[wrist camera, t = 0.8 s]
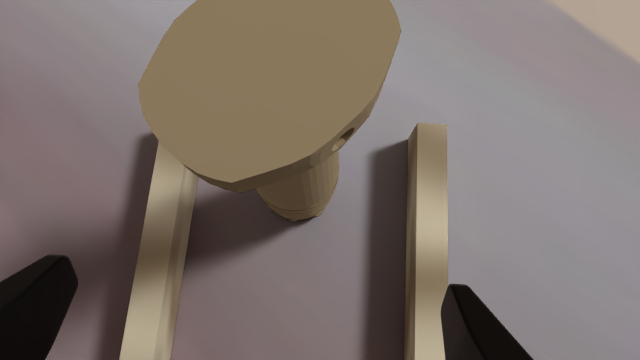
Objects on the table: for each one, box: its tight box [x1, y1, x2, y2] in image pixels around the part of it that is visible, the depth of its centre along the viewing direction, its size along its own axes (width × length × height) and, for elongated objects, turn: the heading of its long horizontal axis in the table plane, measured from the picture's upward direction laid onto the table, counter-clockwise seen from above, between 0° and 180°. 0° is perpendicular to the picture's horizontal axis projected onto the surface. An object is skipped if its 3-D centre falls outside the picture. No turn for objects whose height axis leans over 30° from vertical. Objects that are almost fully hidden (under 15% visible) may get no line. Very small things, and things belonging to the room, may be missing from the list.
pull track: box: [119, 123, 448, 360], centre depth 21 cm, size 20×16×4 cm
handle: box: [138, 0, 401, 222], centre depth 17 cm, size 5×6×15 cm
